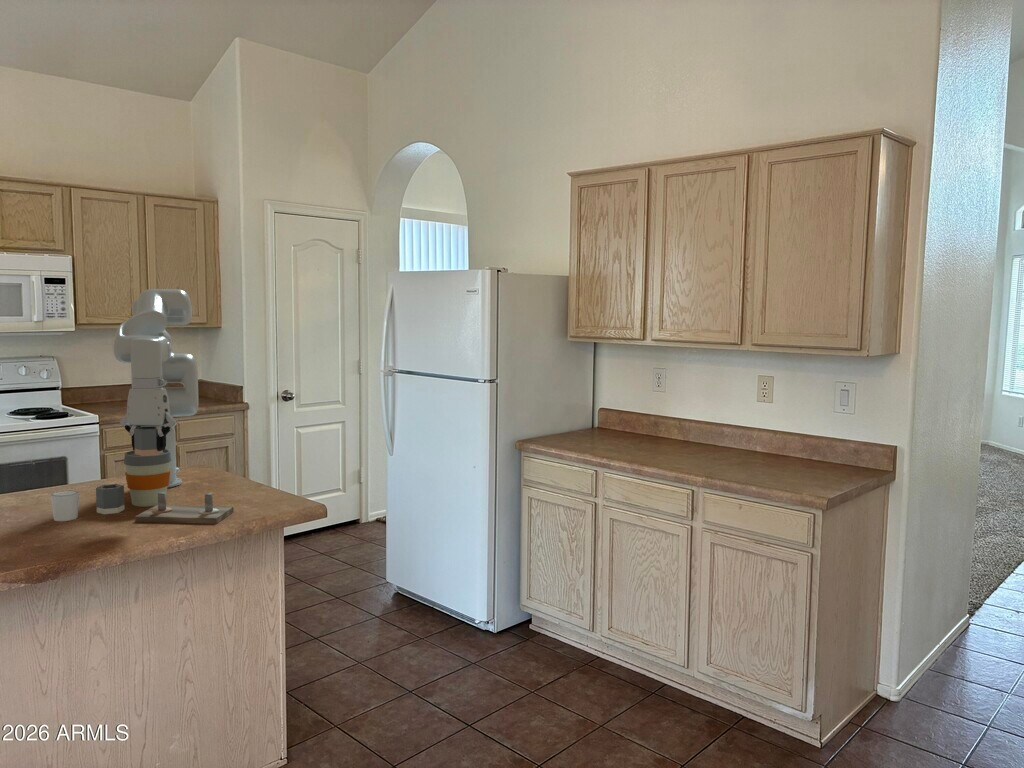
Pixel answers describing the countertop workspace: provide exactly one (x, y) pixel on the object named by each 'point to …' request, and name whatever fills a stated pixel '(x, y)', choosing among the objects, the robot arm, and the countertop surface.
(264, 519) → the countertop surface
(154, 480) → the reusable coffee cup
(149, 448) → the terracotta-banded sleeve
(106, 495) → the cream-banded sleeve
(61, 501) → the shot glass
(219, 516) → the pin board
